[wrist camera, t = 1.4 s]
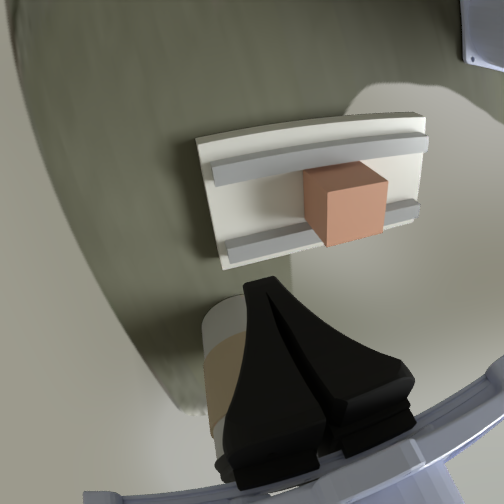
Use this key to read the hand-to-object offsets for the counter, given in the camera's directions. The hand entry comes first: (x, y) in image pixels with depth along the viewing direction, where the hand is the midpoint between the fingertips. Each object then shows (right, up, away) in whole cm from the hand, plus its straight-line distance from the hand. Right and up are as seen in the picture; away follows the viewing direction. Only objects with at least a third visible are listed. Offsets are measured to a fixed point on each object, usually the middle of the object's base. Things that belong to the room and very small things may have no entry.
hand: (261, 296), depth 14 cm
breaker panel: (+4, +7, +8) cm, 12 cm away
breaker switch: (+5, +6, +7) cm, 10 cm away
